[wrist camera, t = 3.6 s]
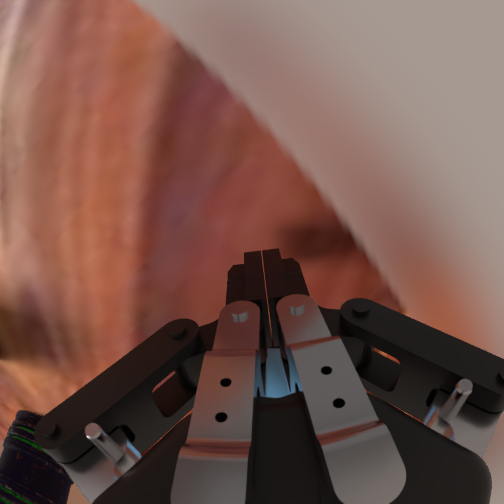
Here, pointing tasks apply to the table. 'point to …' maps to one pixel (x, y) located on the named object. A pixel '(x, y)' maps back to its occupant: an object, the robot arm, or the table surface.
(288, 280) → the robot arm
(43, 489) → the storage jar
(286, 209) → the table surface
